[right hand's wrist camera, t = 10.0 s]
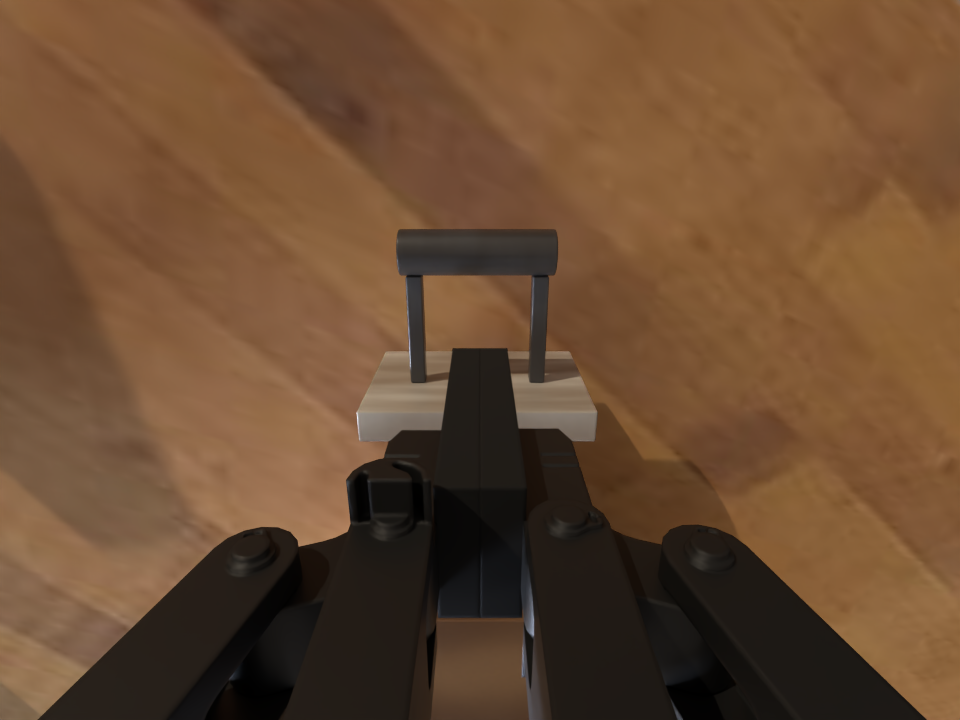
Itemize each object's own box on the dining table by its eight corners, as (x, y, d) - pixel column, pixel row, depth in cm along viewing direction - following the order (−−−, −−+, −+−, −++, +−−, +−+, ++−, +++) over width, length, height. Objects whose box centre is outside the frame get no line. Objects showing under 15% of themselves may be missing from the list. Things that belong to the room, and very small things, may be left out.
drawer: (376, 219, 23) (340, 241, 17) (578, 218, 23) (613, 241, 17) (406, 656, 31) (389, 771, 26) (550, 656, 32) (566, 771, 26)
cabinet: (387, 497, 29) (354, 621, 21) (568, 497, 29) (600, 620, 21) (406, 752, 36) (386, 911, 28) (550, 751, 36) (569, 911, 28)
